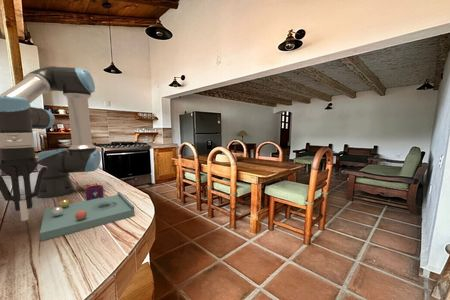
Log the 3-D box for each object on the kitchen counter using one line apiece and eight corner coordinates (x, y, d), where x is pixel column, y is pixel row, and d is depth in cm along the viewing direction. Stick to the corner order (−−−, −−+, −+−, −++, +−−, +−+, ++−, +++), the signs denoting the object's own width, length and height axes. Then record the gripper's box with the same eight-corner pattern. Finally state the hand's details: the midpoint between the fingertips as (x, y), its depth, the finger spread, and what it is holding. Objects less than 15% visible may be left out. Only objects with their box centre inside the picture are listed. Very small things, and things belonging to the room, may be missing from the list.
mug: (86, 205, 85) (85, 190, 84) (86, 198, 93) (84, 185, 92) (104, 201, 89) (103, 187, 88) (102, 196, 97) (101, 182, 96)
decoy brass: (59, 207, 76) (58, 199, 76) (70, 205, 78) (69, 197, 78) (59, 209, 73) (58, 201, 73) (70, 207, 76) (69, 199, 75)
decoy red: (75, 219, 65) (74, 210, 65) (86, 216, 67) (86, 207, 67) (75, 222, 63) (74, 213, 63) (87, 219, 65) (87, 210, 65)
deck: (45, 215, 75) (44, 205, 74) (119, 199, 92) (119, 191, 91) (40, 241, 57) (39, 229, 56) (134, 215, 73) (134, 206, 73)
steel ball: (52, 215, 68) (51, 207, 68) (64, 213, 70) (63, 204, 70) (51, 218, 66) (51, 209, 65) (64, 216, 68) (63, 207, 68)
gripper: (-19, 149, 53) (-9, 230, 56) (44, 146, 62) (51, 217, 64) (-12, 147, 59) (-3, 221, 61) (46, 145, 68) (52, 210, 70)
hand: (25, 219), depth 63 cm, fingers closed
